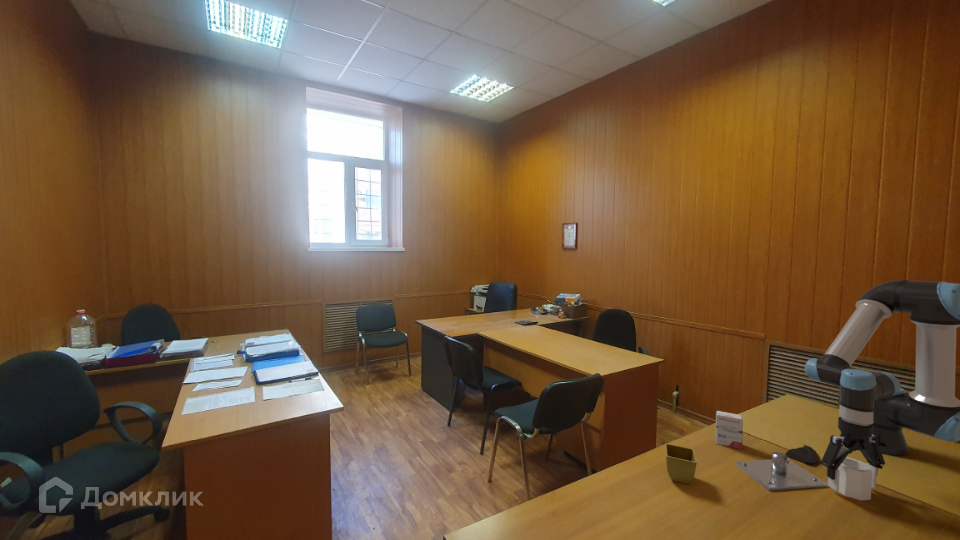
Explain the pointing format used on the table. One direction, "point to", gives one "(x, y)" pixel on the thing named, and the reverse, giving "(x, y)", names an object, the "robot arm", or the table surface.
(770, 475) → the duct plate
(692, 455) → the flower pot
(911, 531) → the table surface
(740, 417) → the ink box
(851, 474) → the octagonal hollow tube
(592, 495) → the table surface
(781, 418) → the table surface
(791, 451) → the curved wedge
